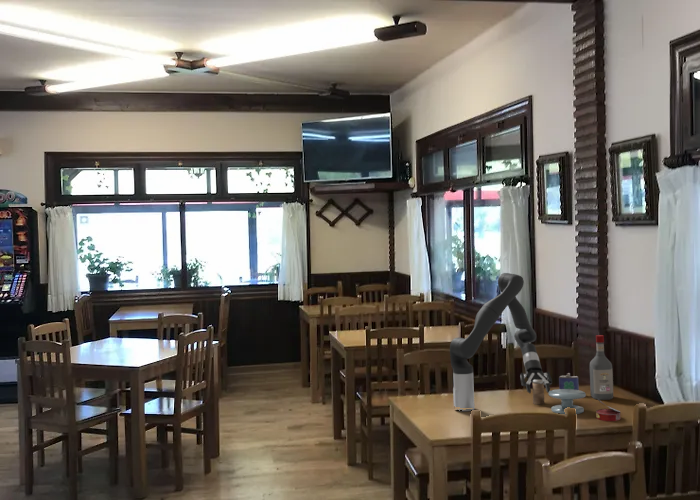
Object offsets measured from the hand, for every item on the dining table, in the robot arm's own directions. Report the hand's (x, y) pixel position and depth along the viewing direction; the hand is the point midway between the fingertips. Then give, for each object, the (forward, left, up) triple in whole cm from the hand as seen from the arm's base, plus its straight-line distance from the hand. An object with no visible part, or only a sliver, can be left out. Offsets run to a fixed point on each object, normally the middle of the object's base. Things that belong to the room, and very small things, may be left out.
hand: (539, 392), depth 329 cm
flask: (+19, +16, -6) cm, 26 cm away
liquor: (+32, +7, -6) cm, 33 cm away
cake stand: (+9, -14, -6) cm, 17 cm away
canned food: (+22, -29, -6) cm, 37 cm away
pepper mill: (0, +1, -6) cm, 6 cm away
